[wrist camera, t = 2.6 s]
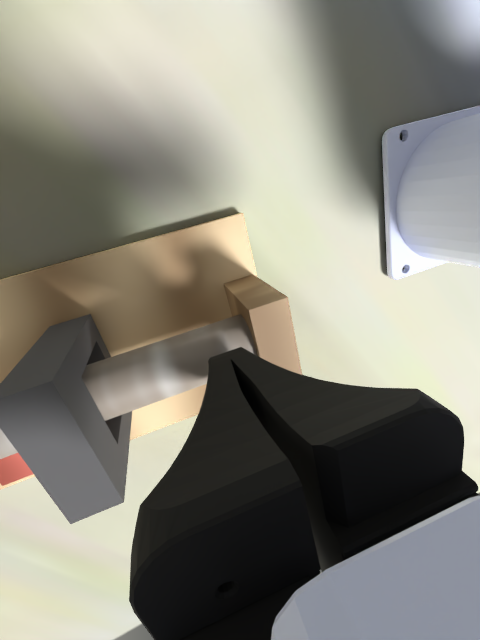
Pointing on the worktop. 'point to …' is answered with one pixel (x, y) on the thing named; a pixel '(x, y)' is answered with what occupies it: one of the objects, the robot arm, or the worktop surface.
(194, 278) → the pipe rig
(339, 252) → the worktop surface
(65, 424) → the collar
